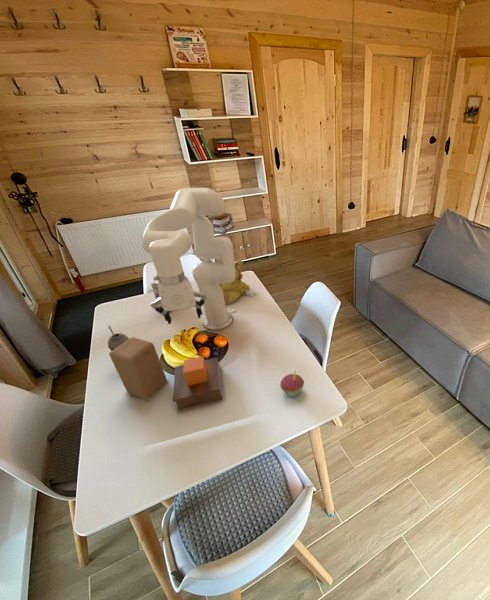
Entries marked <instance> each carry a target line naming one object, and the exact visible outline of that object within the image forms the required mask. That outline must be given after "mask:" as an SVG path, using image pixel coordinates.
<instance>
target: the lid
mask: <svg viewBox="0 0 490 600" xmlns="http://www.w3.org/2000/svg"><path fill="white" fill-rule="evenodd" d="M204 361H205V364H206V368H207V381H206V382H202V383H198V384H194V385H190V386H188V385H187V382H186V379H185V376H184V373H183V369H184V364H180V365H176V366H174V374H173V375H174V377H173V379H174V380H173V391H172V392H173V393H172V402H173V403H176V401H180V400H184V399H188V398H192V397H196V396H200V395H204V394H207V393H211V392H215V391H219V390H220V383H219V371H218V363H219V358H218V357H213V358H209V359H208V358H207V359H204Z"/></svg>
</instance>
